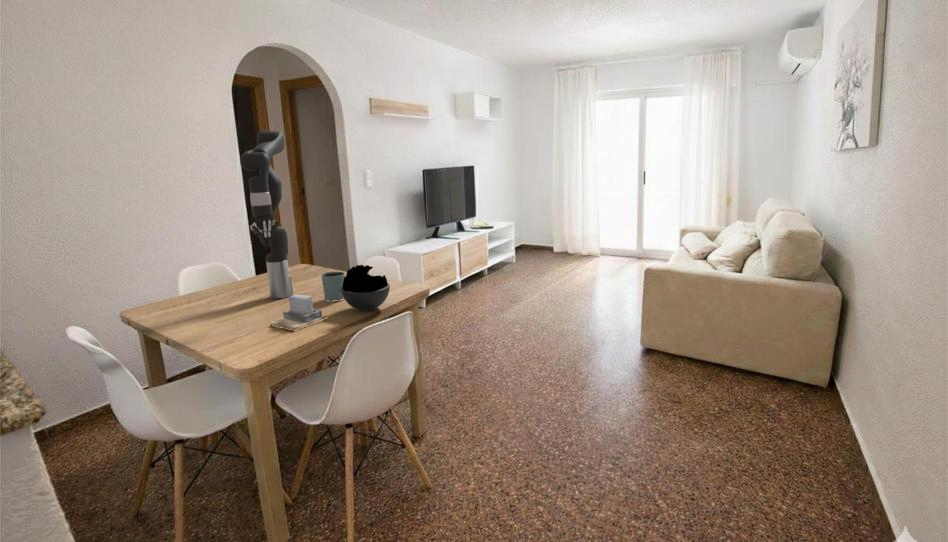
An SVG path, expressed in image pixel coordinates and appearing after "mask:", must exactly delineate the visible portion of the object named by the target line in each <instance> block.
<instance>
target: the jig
mask: <svg viewBox="0 0 948 542" xmlns="http://www.w3.org/2000/svg"><path fill="white" fill-rule="evenodd" d="M313 310H314V312H313V313H310V314H308V315H301V314H296V313H291V309H289V310H286V311H283V313H282V314H283V315H282V316H283V317H281V318H279V319H275V320H273V321H270V323H269V325H273V326H278V327H283V328H288V329H293V330H296V329H299V328H301V327H304V326H306V325H309V324H311V323H314V322H316V321H319V320H321V319H324V318H326V317H327V318H328V315H326V314H323V312H322V310H320V309H315V308H313ZM273 326H272V327H273Z"/></svg>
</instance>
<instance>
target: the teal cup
mask: <svg viewBox="0 0 948 542" xmlns="http://www.w3.org/2000/svg"><path fill="white" fill-rule="evenodd" d="M344 277H346V275H345V272H343V271H329V272H324V273H322V274H321V282H322V285H323V287H322V289H323V294H324V301H325V300H329V301H333V300H340V299H343V298H344V297H343V295H342V292H341V288H342V286H343V281H344Z"/></svg>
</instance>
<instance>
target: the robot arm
mask: <svg viewBox="0 0 948 542" xmlns="http://www.w3.org/2000/svg"><path fill="white" fill-rule="evenodd" d="M256 143H257V145H256V146H255V147H254V148H253V149H250V150H247V151H245V152H243V153H241V154H242V155H241V157H240V159H239V162H240V166H241V167H242V168H243V170H244V171H247V172H255V171H256V172H259V175H256V176H253V177H250V178H249V179H248V187H249V194H250V195H249V197H250V198H249V199H250V206H251V212H252V216H253V223H252V224H251V225H249V226H248V228H249V229H250V230H251V232H253V234H254V235H255V236H256V237H258V238H259V241H260V242H261V244H262V245H263V247H265V248H268V247H271V249H270V250H271V251H270V253H267V254H266V256H265V262H266V271H267V272H266V273H267V281H268V286H269V296H270V299H273V298H276V299H275V300H278V299H277V298H282V299H286V297H287V298H289V296H290V297H291V296H293V295H294V291H293V281H292V275H291V274H290V270H289V262H288V261H289V260H288V255H289V241H288V240H289V239H288V234H287V231H286V229H285V228H284V227H282V226H280V225H279V224H280V223H279V221H276V220H275V216H276V211H277V210H278V208H279V205H280V203H281V201H282V196H283V194H282V193H283V192H282V191H283V190H282V185H283V184H282V181H281V179H280V177H279V175H278V174H277V173H276V171H275V170H274V169H273V167H272V165H271V158H272V157H274V156H276V155H278V154H279V153H282V152H283V151H284V150H285V147H286V146H285V144H286V143H285V136H284V134H283V132H280V131H275V130H259V131H258V132H257V137H256ZM292 294H293V295H292Z"/></svg>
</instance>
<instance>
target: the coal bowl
mask: <svg viewBox="0 0 948 542" xmlns="http://www.w3.org/2000/svg"><path fill="white" fill-rule="evenodd" d="M373 268H374V267H373V266H370V265H368V264H366V265H364V264H358V265H356V266H354V265H353V266H352V267H350V268H349V269H348V270H347V271H346V275H345V277H344V281H343V286H342V288H341V292H342V295H343V297H344V301H345V302H346V303H347V304H348V305H349V306H351V307H352V308H354V309H355V310H360V311H371V310H370V309H372V310H374V308H375V309H376V308H379V307H380V306H381V305H383V303H384V302H386V300H387V298H388V296H389V293H390V287H391V286H390V284H389V283H388V280H387V279H388V278H387V277H386V275H371V274H369V272H370V271H371V270H372V269H373Z"/></svg>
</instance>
